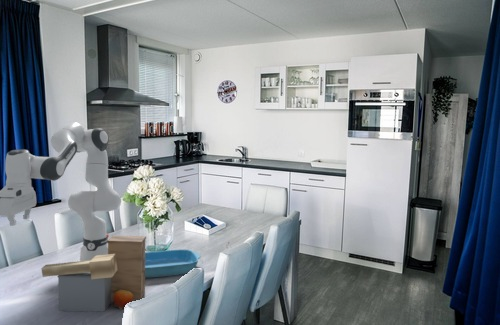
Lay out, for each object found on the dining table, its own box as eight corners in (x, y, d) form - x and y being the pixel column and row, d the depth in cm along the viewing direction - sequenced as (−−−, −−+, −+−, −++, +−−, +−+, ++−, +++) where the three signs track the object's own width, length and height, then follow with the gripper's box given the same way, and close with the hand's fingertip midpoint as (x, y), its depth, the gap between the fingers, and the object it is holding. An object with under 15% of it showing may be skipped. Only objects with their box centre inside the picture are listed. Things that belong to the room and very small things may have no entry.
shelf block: (113, 291, 163) (113, 235, 160) (145, 292, 163) (146, 236, 161) (107, 299, 155) (107, 240, 152) (141, 299, 156) (141, 241, 153)
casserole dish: (194, 258, 206) (194, 246, 205) (205, 274, 186) (205, 260, 185) (126, 266, 192) (126, 253, 191) (129, 283, 171) (129, 269, 171)
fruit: (105, 307, 146) (112, 286, 149) (116, 308, 153) (123, 289, 156) (121, 311, 143) (128, 290, 146) (132, 313, 150) (138, 293, 153)
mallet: (45, 260, 146) (36, 267, 139) (115, 253, 148) (109, 260, 141) (47, 277, 147) (38, 284, 140) (117, 270, 149) (112, 277, 142)
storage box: (67, 300, 153) (67, 267, 151) (111, 301, 154) (111, 268, 152) (58, 310, 144) (57, 276, 143) (104, 311, 145) (104, 277, 144)
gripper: (25, 184, 159) (26, 215, 160) (-5, 193, 138) (-4, 228, 140) (40, 185, 159) (40, 215, 160) (12, 194, 139) (13, 229, 140)
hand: (19, 221), depth 150 cm, fingers open, 8 cm apart
